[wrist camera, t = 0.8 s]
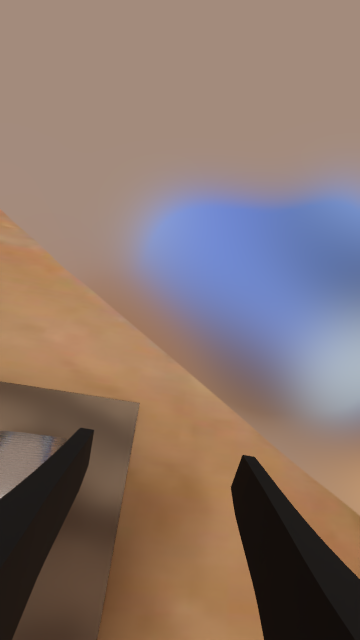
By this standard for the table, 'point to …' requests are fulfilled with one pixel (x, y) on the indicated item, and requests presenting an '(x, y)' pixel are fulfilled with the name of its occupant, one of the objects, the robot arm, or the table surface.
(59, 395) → the grey brown board
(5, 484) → the roller
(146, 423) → the table surface
